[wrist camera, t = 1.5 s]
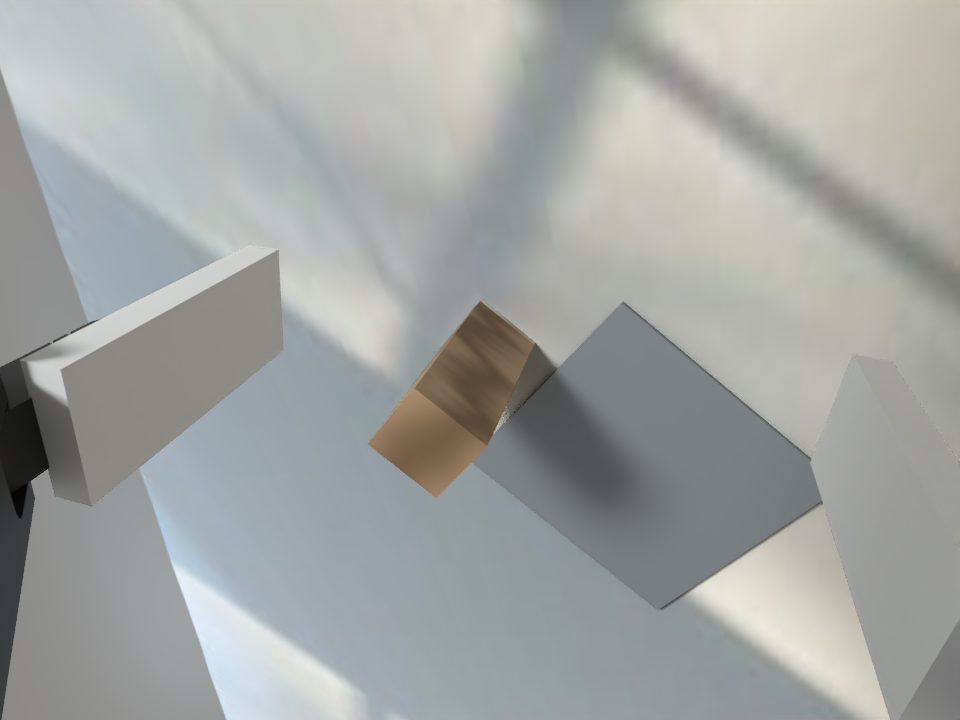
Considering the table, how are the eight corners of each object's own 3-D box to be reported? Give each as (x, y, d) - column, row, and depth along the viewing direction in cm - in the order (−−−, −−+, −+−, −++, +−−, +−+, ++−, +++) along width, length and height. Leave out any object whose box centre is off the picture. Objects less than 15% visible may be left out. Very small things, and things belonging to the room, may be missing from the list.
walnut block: (442, 345, 50) (367, 444, 38) (481, 298, 48) (414, 388, 35) (494, 386, 50) (436, 498, 38) (535, 342, 48) (487, 446, 36)
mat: (470, 457, 54) (469, 460, 53) (623, 301, 45) (622, 303, 45) (657, 606, 55) (657, 610, 55) (840, 483, 46) (842, 487, 46)
